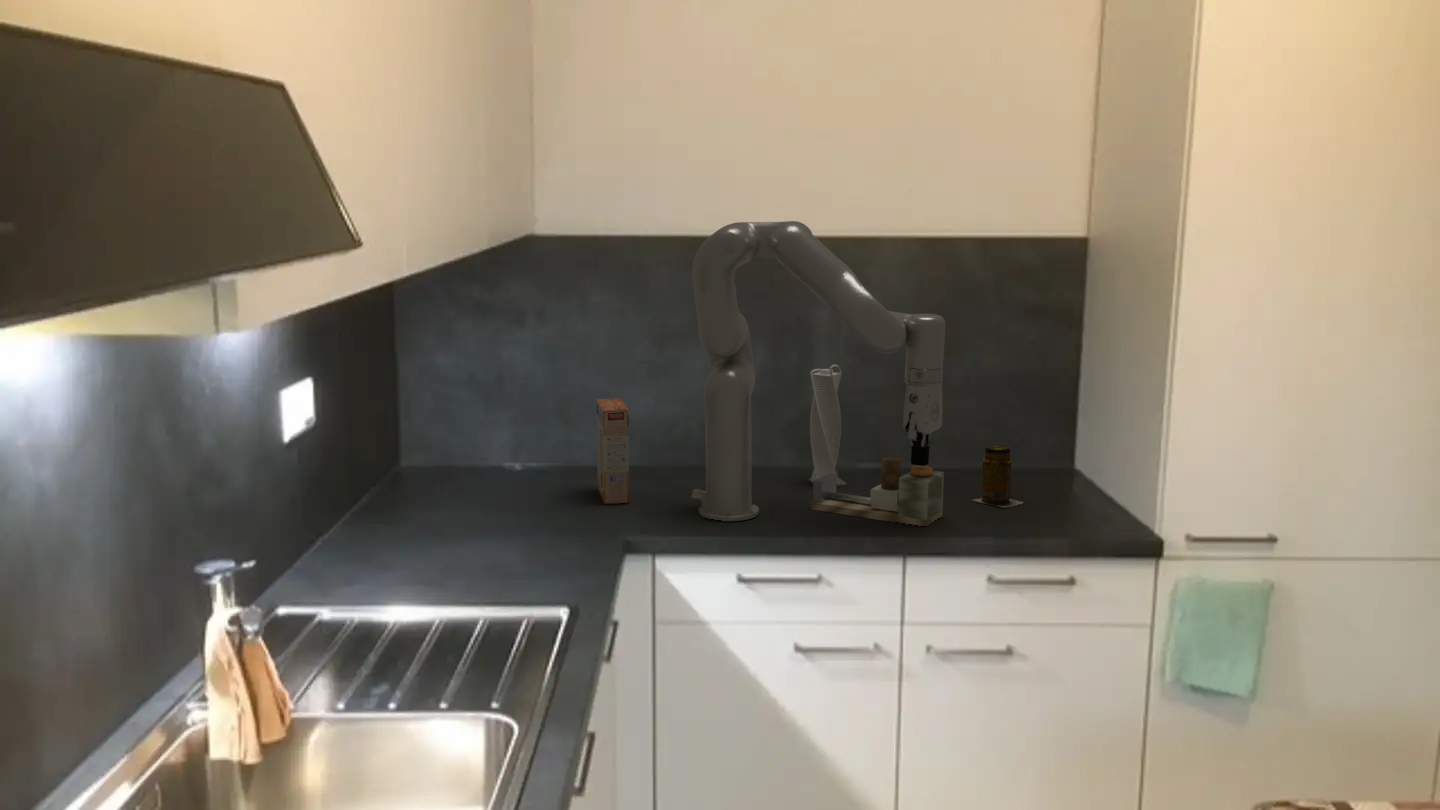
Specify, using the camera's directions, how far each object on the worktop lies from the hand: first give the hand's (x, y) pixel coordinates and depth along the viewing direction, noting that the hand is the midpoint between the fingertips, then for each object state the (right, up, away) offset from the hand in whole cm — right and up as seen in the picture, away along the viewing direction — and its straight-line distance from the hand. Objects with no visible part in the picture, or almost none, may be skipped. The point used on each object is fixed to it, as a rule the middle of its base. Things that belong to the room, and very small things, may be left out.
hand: (919, 464), depth 260 cm
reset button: (0, -4, +1) cm, 4 cm away
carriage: (-5, -9, +5) cm, 12 cm away
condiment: (+19, -9, +16) cm, 26 cm away
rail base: (-8, -11, +7) cm, 15 cm away
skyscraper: (-16, -6, +31) cm, 36 cm away
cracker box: (-64, -8, +21) cm, 68 cm away
